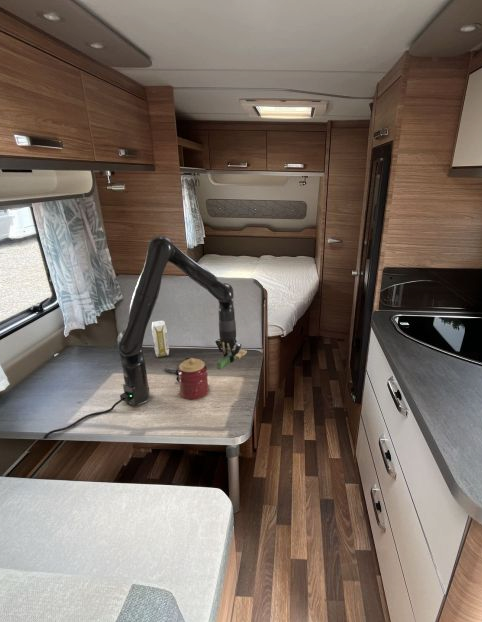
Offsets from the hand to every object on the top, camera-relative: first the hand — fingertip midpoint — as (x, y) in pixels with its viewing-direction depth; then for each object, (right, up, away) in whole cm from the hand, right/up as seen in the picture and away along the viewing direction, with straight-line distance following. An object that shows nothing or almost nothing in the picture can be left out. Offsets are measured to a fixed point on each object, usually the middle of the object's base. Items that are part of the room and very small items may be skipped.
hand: (229, 361), depth 158 cm
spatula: (+1, 0, +1) cm, 2 cm away
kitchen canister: (-16, -14, -1) cm, 22 cm away
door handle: (-27, -8, +17) cm, 33 cm away
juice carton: (-44, -1, +34) cm, 55 cm away
